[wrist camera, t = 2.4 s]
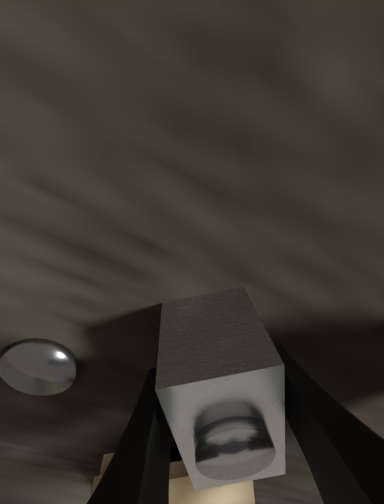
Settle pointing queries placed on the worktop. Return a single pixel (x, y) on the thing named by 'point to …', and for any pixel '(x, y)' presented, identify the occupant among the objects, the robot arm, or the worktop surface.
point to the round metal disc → (39, 367)
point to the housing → (221, 389)
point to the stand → (182, 491)
